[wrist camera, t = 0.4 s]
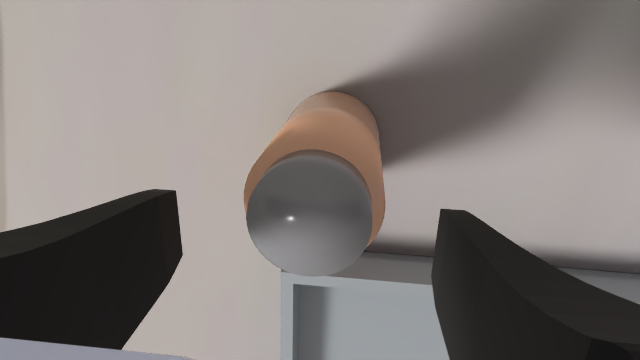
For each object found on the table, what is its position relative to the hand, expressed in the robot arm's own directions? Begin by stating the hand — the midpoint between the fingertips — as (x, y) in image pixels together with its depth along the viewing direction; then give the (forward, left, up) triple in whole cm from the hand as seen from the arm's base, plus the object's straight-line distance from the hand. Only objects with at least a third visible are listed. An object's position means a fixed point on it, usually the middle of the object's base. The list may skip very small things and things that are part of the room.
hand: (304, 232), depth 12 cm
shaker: (0, 0, -9) cm, 9 cm away
